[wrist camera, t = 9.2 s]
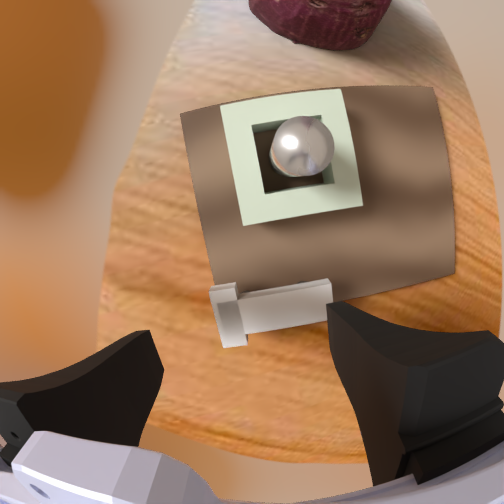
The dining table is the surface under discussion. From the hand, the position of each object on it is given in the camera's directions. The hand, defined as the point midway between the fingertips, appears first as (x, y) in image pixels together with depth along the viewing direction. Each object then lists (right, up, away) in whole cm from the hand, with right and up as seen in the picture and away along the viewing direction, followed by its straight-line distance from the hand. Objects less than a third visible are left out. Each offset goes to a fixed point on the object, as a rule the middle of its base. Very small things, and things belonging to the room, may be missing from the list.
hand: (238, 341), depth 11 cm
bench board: (+6, +8, +9) cm, 13 cm away
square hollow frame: (+3, +10, +8) cm, 13 cm away
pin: (+3, +10, +7) cm, 12 cm away
